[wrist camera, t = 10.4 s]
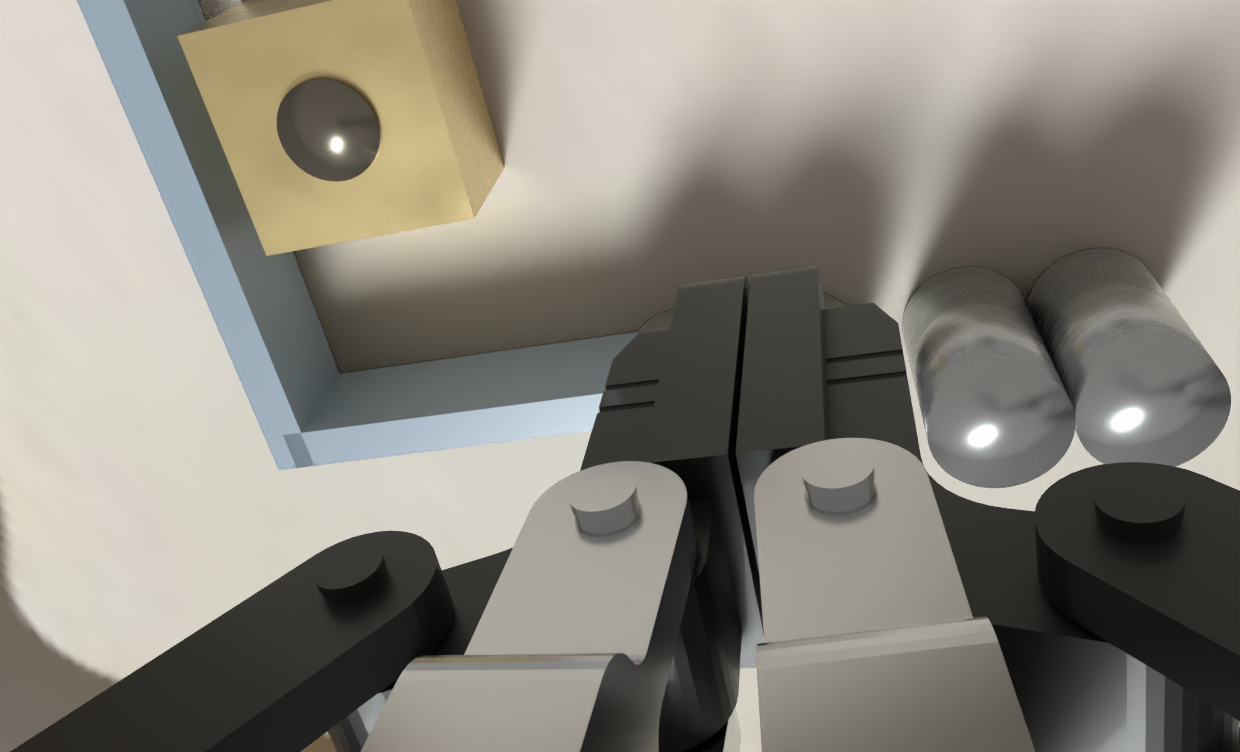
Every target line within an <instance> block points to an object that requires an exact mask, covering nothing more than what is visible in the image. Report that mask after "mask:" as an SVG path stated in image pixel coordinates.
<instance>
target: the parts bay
mask: <svg viewBox="0 0 1240 752" xmlns="http://www.w3.org/2000/svg"><path fill="white" fill-rule="evenodd" d="M77 2H78V4H79V6H80V9H81V11H82V13H83V16H84V18H85V20H86V23H87V25H88V27H89V30H90V32H91V34H92V37H93V39H94V41H95V43H96V46H97V48H98V50H99V53H100V55H101V57H102V60H103V62H104V64H105V67H106V69H107V71H108V74H109V76H110V78H111V81H112V83H113V85H114V88H115V90H116V92H117V95H118V97H119V99H120V102H121V104H122V106H123V109H124V111H125V113H126V116H127V118H128V120H129V123H130V125H131V127H132V130H133V132H134V134H135V137H136V139H137V141H138V144H139V146H140V148H141V151H142V153H143V155H144V158H145V160H146V162H147V165H148V167H149V169H150V171H151V174H152V176H153V178H154V181H155V183H156V185H157V188H158V190H159V192H160V195H161V197H162V199H163V202H164V204H165V206H166V209H167V211H168V213H169V216H170V218H171V220H172V223H173V225H174V227H175V230H176V232H177V234H178V237H179V239H180V241H181V244H182V246H183V248H184V251H185V253H186V255H187V258H188V260H189V262H190V265H191V267H192V269H193V272H194V274H195V276H196V279H197V281H198V283H199V286H200V288H201V290H202V293H203V295H204V297H205V300H206V302H207V304H208V306H209V309H210V311H211V313H212V316H213V318H214V320H215V323H216V325H217V327H218V330H219V332H220V334H221V337H222V339H223V341H224V344H225V346H226V348H227V351H228V353H229V355H230V358H231V360H232V362H233V365H234V367H235V369H236V372H237V374H238V376H239V379H240V381H241V383H242V386H243V388H244V390H245V393H246V395H247V397H248V400H249V402H250V404H251V407H252V409H253V411H254V414H255V416H256V418H257V421H258V423H259V425H260V428H261V430H262V432H263V435H264V437H265V439H266V441H267V444H268V446H269V448H270V451H271V453H272V455H273V458H274V460H275V462H276V465H277V467H278V469H279V470H284V469H292V468H300V467H308V466H316V465H324V464H332V463H340V462H348V461H356V460H364V459H372V458H380V457H388V456H396V455H404V454H412V453H420V452H428V451H436V450H444V449H452V448H461V447H469V446H477V445H485V444H493V443H501V442H509V441H517V440H525V439H533V438H541V437H549V436H557V435H565V434H573V433H581V432H589V431H592V429H593V426H594V422H595V419H596V415H597V413H599V405H600V402H601V398H602V395H603V391H606V388H605V385H606V381H607V378H608V374H609V371H610V367H611V364H612V361H613V359H614V358H615V357H616V356H617V355H618V354H619V353H620V352H621V351H622V350H623V349H624V348H625V347H626V346H627V345H628V344H629V343H630V342H631V341H632V340H633V339H634V338H635V337H636V336H637V335H638V332H632V333H625V334H618V335H611V336H604V337H597V338H590V339H582V340H575V341H568V342H561V343H554V344H547V345H540V346H533V347H526V348H519V349H512V350H505V351H498V352H491V353H483V354H476V355H469V356H462V357H455V358H448V359H441V360H434V361H427V362H420V363H413V364H406V365H399V366H392V367H384V368H377V369H370V370H363V371H356V372H349V373H342V374H340V373H339V370H338V368H337V365H336V363H335V360H334V357H333V355H332V352H331V349H330V347H329V344H328V342H327V339H326V336H325V334H324V331H323V328H322V326H321V323H320V321H319V318H318V315H317V313H316V310H315V307H314V305H313V302H312V299H311V297H310V294H309V292H308V289H307V286H306V284H305V281H304V278H303V276H302V273H301V271H300V268H299V265H298V263H297V260H296V257H295V255H294V252H293V251H291V252H286V253H280V254H275V255H269V256H266V253H265V251H264V249H263V246H262V244H261V241H260V239H259V236H258V234H257V231H256V229H255V226H254V224H253V221H252V219H251V216H250V214H249V212H248V209H247V207H246V204H245V202H244V199H243V197H242V194H241V192H240V189H239V187H238V184H237V182H236V180H235V177H234V175H233V172H232V170H231V167H230V165H229V162H228V160H227V157H226V155H225V152H224V150H223V148H222V145H221V143H220V140H219V138H218V135H217V133H216V130H215V128H214V125H213V123H212V120H211V118H210V115H209V113H208V111H207V108H206V106H205V103H204V101H203V98H202V96H201V93H200V91H199V88H198V86H197V83H196V81H195V79H194V76H193V74H192V71H191V69H190V66H189V64H188V61H187V59H186V56H185V54H184V51H183V49H182V46H181V44H180V42H179V39H178V37H177V36H178V35H180V34H182V33H184V32H186V31H188V30H190V29H192V28H193V27H195V26H197V25H199V24H201V23H203V22H205V18H204V15H203V13H202V10H201V7H200V5H199V2H198V0H77Z"/></svg>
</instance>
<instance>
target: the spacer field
mask: <svg viewBox="0 0 1240 752" xmlns="http://www.w3.org/2000/svg"><path fill="white" fill-rule="evenodd" d="M823 295H824V302H825V309H832V308H840V307H847V306H846V305H844V304H843V303H842V302H840V301H839V300H837V299H835V298H834V297H832V296H829V295H827V294H823ZM673 313H674V309H672V310H668V311H665V312H662V313H660V314H658V315H656V316H654V317H653V318H651V319H650V320H648V321H647V322H646V323H645V324H644V325H643V326H642V327H641V328H640V330H639V331H638V334H643V333H651V332H658V331H666V330H670V327H671V322H672V318H673ZM902 330H903V336H904V340H905V345H906V349H907V353H908V358H909V362H910V366H911V371H912V375H913V379H914V383H915V388H916V392H917V396H918V401H919V405H920V409H921V413H922V418H923V422H924V426H925V431H926V435H927V439H928V444H929V447H930V450H931V453H932V455H933V457H934V458H935V460H936V461H937V463H938V464H939V465H940V466H941V467H942V468H943V469H944V470H945V471H946V472H947V473H948V474H950V475H951V476H952V477H954V478H956V479H958V480H960V481H962V482H964V483H967V484H970V485H974V486H978V487H985V488H1005V487H1011V486H1016V485H1020V484H1023V483H1026V482H1029V481H1031V480H1033V479H1035V478H1037V477H1039V476H1041V475H1043V474H1044V473H1046V472H1047V471H1049V470H1050V469H1051V468H1052V467H1053V466H1055V465H1056V464H1057V463H1058V462H1059V461H1060V460H1061V458H1062V457H1063V456H1064V454H1065V453H1066V452H1067V450H1068V448H1069V446H1070V444H1071V442H1072V439H1073V436H1074V431H1075V430H1076V432H1077V434H1078V436H1079V439H1080V441H1081V443H1082V444H1083V446H1084V447H1085V449H1086V450H1087V451H1088V452H1089V453H1090V454H1091V455H1092V456H1093V457H1094V458H1096V459H1097V460H1098V461H1100V462H1102V463H1103V464H1111V463H1122V462H1143V463H1156V464H1163V465H1169V466H1174V467H1175V466H1178V465H1180V464H1182V463H1184V462H1187V461H1189V460H1190V459H1192V458H1194V457H1195V456H1197V455H1199V454H1200V453H1201V452H1202V451H1204V450H1205V449H1206V448H1207V447H1208V446H1209V445H1211V444H1212V443H1213V442H1214V440H1215V439H1216V438H1217V437H1218V435H1219V434H1220V432H1221V431H1222V429H1223V428H1224V426H1225V424H1226V421H1227V419H1228V416H1229V413H1230V407H1231V394H1230V389H1229V386H1228V383H1227V381H1226V379H1225V377H1224V375H1223V374H1222V372H1221V371H1220V369H1219V368H1218V367H1217V365H1216V364H1215V362H1214V361H1213V360H1212V358H1211V357H1210V355H1209V354H1208V352H1207V351H1206V350H1205V348H1204V347H1203V345H1202V344H1201V343H1200V341H1199V340H1198V338H1197V337H1196V336H1195V334H1194V333H1193V331H1192V330H1191V329H1190V327H1189V326H1188V324H1187V323H1186V322H1185V320H1184V319H1183V317H1182V316H1181V315H1180V313H1179V312H1178V310H1177V309H1176V308H1175V306H1174V305H1173V303H1172V302H1171V301H1170V299H1169V298H1168V296H1167V295H1166V294H1165V292H1164V291H1163V289H1162V288H1161V287H1160V285H1159V284H1158V282H1157V281H1156V280H1155V278H1154V277H1153V275H1152V274H1151V273H1150V271H1149V270H1148V269H1147V267H1146V266H1145V265H1144V264H1143V263H1142V262H1141V261H1140V260H1138V259H1137V258H1135V257H1134V256H1132V255H1130V254H1128V253H1126V252H1123V251H1120V250H1116V249H1110V248H1092V249H1086V250H1081V251H1078V252H1075V253H1072V254H1070V255H1067V256H1065V257H1063V258H1062V259H1060V260H1058V261H1057V262H1055V263H1054V264H1053V265H1051V266H1050V267H1049V268H1048V269H1047V270H1046V271H1044V273H1043V274H1042V275H1041V276H1040V277H1039V278H1038V280H1037V281H1036V283H1035V284H1034V286H1033V288H1032V290H1031V293H1030V296H1029V298H1028V303H1027V305H1026V303H1025V301H1024V299H1023V297H1022V294H1021V293H1020V291H1019V290H1018V288H1017V287H1016V286H1015V285H1014V284H1013V283H1012V282H1011V281H1010V280H1009V279H1008V278H1006V277H1005V276H1003V275H1001V274H1000V273H997V272H995V271H993V270H989V269H986V268H980V267H960V268H955V269H951V270H947V271H944V272H942V273H940V274H937V275H935V276H934V277H932V278H930V279H929V280H927V281H926V282H925V283H924V284H922V285H921V286H920V287H919V288H918V289H917V290H916V291H915V293H914V294H913V295H912V297H911V298H910V300H909V302H908V304H907V306H906V308H905V311H904V315H903V321H902Z"/></svg>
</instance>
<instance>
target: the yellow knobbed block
mask: <svg viewBox="0 0 1240 752" xmlns="http://www.w3.org/2000/svg"><path fill="white" fill-rule="evenodd" d="M177 37H178V39H179V42H180V44H181V46H182V49H183V51H184V54H185V56H186V59H187V61H188V64H189V66H190V69H191V71H192V74H193V76H194V79H195V81H196V83H197V86H198V88H199V91H200V93H201V96H202V98H203V101H204V103H205V106H206V108H207V111H208V113H209V115H210V118H211V120H212V123H213V125H214V128H215V130H216V133H217V135H218V138H219V140H220V143H221V145H222V148H223V150H224V152H225V155H226V157H227V160H228V162H229V165H230V167H231V170H232V172H233V175H234V177H235V180H236V182H237V184H238V187H239V189H240V192H241V194H242V197H243V199H244V202H245V204H246V207H247V209H248V212H249V214H250V216H251V219H252V221H253V224H254V226H255V229H256V231H257V234H258V236H259V239H260V241H261V244H262V246H263V249H264V251H265V253H266V256H269V255H275V254H280V253H286V252H291V251H297V250H302V249H308V248H313V247H319V246H324V245H330V244H335V243H341V242H347V241H352V240H358V239H363V238H369V237H374V236H380V235H385V234H391V233H396V232H402V231H407V230H413V229H418V228H424V227H429V226H435V225H440V224H446V223H451V222H457V221H462V220H468V219H473V218H475V216H476V215H477V213H478V211H479V210H480V208H481V206H482V205H483V203H484V201H485V200H486V198H487V196H488V194H489V193H490V191H491V189H492V188H493V186H494V184H495V183H496V181H497V179H498V177H499V176H500V174H501V172H502V171H503V169H504V164H503V160H502V157H501V154H500V150H499V147H498V143H497V140H496V136H495V133H494V129H493V126H492V122H491V119H490V115H489V112H488V108H487V105H486V101H485V98H484V94H483V91H482V87H481V84H480V80H479V77H478V74H477V70H476V67H475V63H474V60H473V56H472V53H471V49H470V46H469V42H468V39H467V35H466V32H465V28H464V25H463V21H462V18H461V14H460V11H459V7H458V4H457V0H251V1H246V2H242V3H240V4H238V5H236V6H234V7H232V8H230V9H228V10H226V11H224V12H222V13H220V14H219V15H217V16H215V17H213V18H211V19H209V20H207V21H205V22H203V23H201V24H199V25H197V26H195V27H193V28H192V29H190V30H188V31H186V32H184V33H182V34H180V35H178V36H177Z"/></svg>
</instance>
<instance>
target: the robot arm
mask: <svg viewBox="0 0 1240 752" xmlns="http://www.w3.org/2000/svg"><path fill="white" fill-rule="evenodd" d="M605 388H606V391H603V395H602V398H601V402H600V405H599V413H597V415H596V419H595V422H594V426H593V429H592V432H591V436H590V439H589V443H588V446H587V449H586V453H585V456H584V460H583V463H582V466H581V470H580V471H579V472H577V473H574V474H572V475H570V476H568V477H566V478H564V479H562V480H561V481H559V482H558V483H556V484H555V485H553V486H552V487H550V488H549V489H548V490H547V491H546V492H544V493H543V494H542V495H541V496H540V497H539V499H538V500H537V501H536V502H535V503H534V505H533V507H532V508H531V510H530V512H529V514H528V516H527V518H526V521H525V523H524V525H523V527H522V529H521V531H520V534H519V536H518V538H517V540H516V542H515V545H514V547H513V548H511V549H508V550H506V551H503V552H500V553H497V554H494V555H491V556H488V557H484V558H481V559H478V560H475V561H471V562H468V563H465V564H461V565H458V566H455V567H452V568H448V569H445V570H441V568H440V565H439V562H438V559H437V557H436V554H435V551H434V549H433V547H432V546H431V545H430V543H429V542H428V541H426V540H425V539H424V538H422V537H420V536H418V535H415V534H412V533H408V532H402V531H381V532H374V533H368V534H364V535H360V536H356V537H353V538H350V539H347V540H345V541H342V542H339V543H337V544H335V545H333V546H331V547H329V548H326V549H325V550H323V551H321V552H320V553H318V554H316V555H314V556H313V557H311V558H310V559H308V560H307V561H305V562H304V563H302V564H300V565H299V566H297V567H296V568H294V569H293V570H291V571H290V572H288V573H287V574H285V575H283V576H282V577H280V578H279V579H277V580H276V581H274V582H273V583H271V584H269V585H268V586H266V587H265V588H263V589H262V590H260V591H259V592H257V593H255V594H254V595H252V596H251V597H249V598H248V599H246V600H245V601H243V602H242V603H240V604H238V605H237V606H235V607H234V608H232V609H231V610H229V611H228V612H226V613H224V614H223V615H221V616H220V617H218V618H217V619H215V620H214V621H212V622H211V623H209V624H207V625H206V626H204V627H203V628H201V629H200V630H198V631H197V632H195V633H193V634H192V635H190V636H189V637H187V638H186V639H184V640H183V641H181V642H179V643H178V644H176V645H175V646H173V647H172V648H170V649H169V650H167V651H166V652H164V653H162V654H161V655H159V656H158V657H156V658H155V659H153V660H152V661H150V662H148V663H147V664H145V665H144V666H142V667H141V668H139V669H138V670H136V671H134V672H133V673H131V674H130V675H128V676H127V677H125V678H124V679H122V680H121V681H119V682H117V683H116V684H114V685H113V686H111V687H110V688H108V689H107V690H105V691H103V692H102V693H100V694H99V695H97V696H96V697H94V698H93V699H91V700H90V701H88V702H86V703H85V704H83V705H82V706H80V707H79V708H77V709H76V710H74V711H72V712H71V713H69V714H68V715H66V716H65V717H63V718H62V719H60V720H59V721H57V722H56V723H54V724H52V725H51V726H49V727H48V728H46V729H45V730H43V731H42V732H40V733H38V734H37V735H35V736H34V737H32V738H31V739H29V740H28V741H26V742H24V743H23V744H21V745H20V746H18V747H17V748H15V749H14V750H12V751H10V752H300V751H301V750H303V749H304V748H306V747H307V746H308V745H310V744H311V743H312V742H314V741H315V740H316V739H318V738H319V737H320V736H322V735H323V734H324V733H326V732H327V731H328V733H329V735H330V737H331V739H332V742H333V744H334V746H335V748H336V750H337V752H739V750H740V743H741V731H740V725H739V721H738V716H737V712H736V707H735V706H736V703H737V698H738V689H739V673H740V668H755V667H757V679H758V695H759V711H760V727H761V743H762V752H1240V727H1239V725H1240V491H1239V490H1236V489H1234V488H1232V487H1229V486H1227V485H1225V484H1222V483H1220V482H1217V481H1215V480H1213V479H1210V478H1208V477H1206V476H1203V475H1200V474H1198V473H1195V472H1192V471H1189V470H1186V469H1182V468H1178V467H1174V466H1169V465H1163V464H1156V463H1143V462H1122V463H1111V464H1103V465H1098V466H1094V467H1089V468H1085V469H1083V470H1080V471H1077V472H1074V473H1071V474H1069V475H1068V476H1066V477H1064V478H1062V479H1060V480H1058V481H1057V482H1056V483H1054V484H1053V485H1051V486H1050V487H1049V488H1048V489H1047V490H1046V491H1045V492H1044V493H1043V495H1042V496H1041V498H1040V499H1039V501H1038V503H1037V505H1036V510H1035V512H1034V511H1025V510H1016V509H1007V508H1001V507H994V506H989V505H985V504H981V503H977V502H973V501H971V500H968V499H965V498H963V497H960V496H958V495H956V494H954V493H952V492H950V491H948V490H946V489H945V488H944V487H942V486H941V485H939V484H938V483H937V482H936V481H935V480H934V479H933V478H932V477H931V476H930V475H929V474H928V472H927V471H926V469H925V467H924V465H923V463H922V459H921V455H920V449H919V443H918V438H917V432H916V426H915V420H914V414H913V408H912V403H911V397H910V391H909V385H908V379H907V374H906V367H905V362H904V356H903V350H902V344H901V338H900V332H899V327H898V323H897V322H896V321H895V320H894V319H892V318H891V317H890V316H889V315H887V314H886V313H885V312H884V311H883V310H881V309H880V308H879V307H878V306H877V305H875V304H874V303H870V304H863V305H855V306H847V307H840V308H832V309H825V302H824V295H823V288H822V282H821V276H820V270H819V266H811V267H803V268H796V269H789V270H782V271H775V272H768V273H761V274H754V275H751V278H750V284H749V281H748V278H747V276H741V277H733V278H726V279H719V280H712V281H705V282H698V283H691V284H683V285H680V286H679V289H678V294H677V299H676V304H675V308H674V313H673V318H672V322H671V327H670V330H666V331H658V332H651V333H643V334H638V335H637V336H636V337H635V338H634V339H633V340H632V341H631V342H630V343H629V344H628V345H627V346H626V347H625V348H624V349H623V350H622V351H621V352H620V353H619V354H618V355H617V356H616V357H615V358H614V359H613V361H612V364H611V367H610V371H609V374H608V378H607V381H606V385H605Z"/></svg>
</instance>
